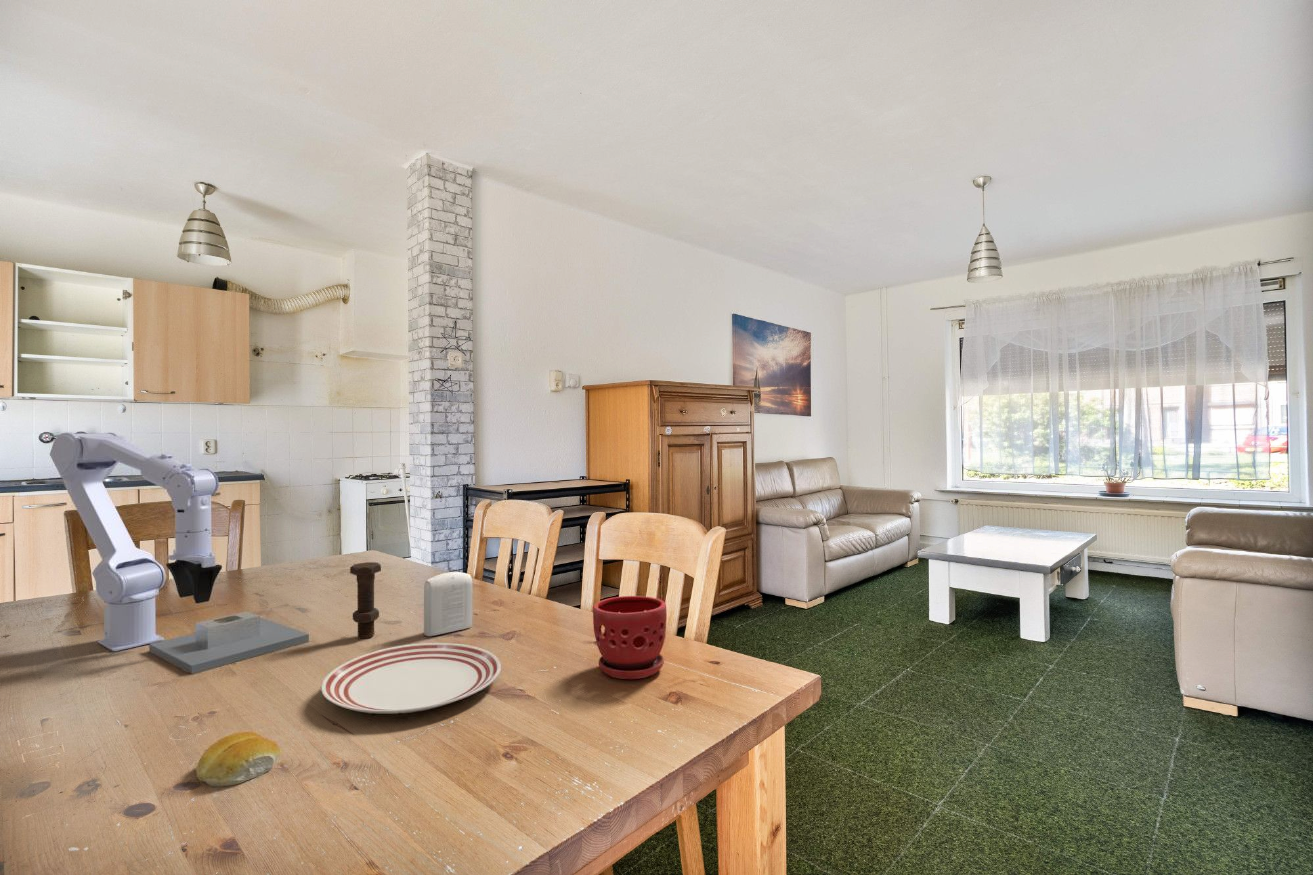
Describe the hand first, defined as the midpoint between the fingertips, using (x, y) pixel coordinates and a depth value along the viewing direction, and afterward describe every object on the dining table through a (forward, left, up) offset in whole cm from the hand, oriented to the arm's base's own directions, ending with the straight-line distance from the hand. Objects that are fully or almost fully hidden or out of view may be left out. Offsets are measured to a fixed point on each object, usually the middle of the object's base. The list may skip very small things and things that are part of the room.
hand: (194, 599), depth 121 cm
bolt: (+23, +22, -10) cm, 33 cm away
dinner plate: (+54, +12, -10) cm, 56 cm away
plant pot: (+79, +38, -10) cm, 88 cm away
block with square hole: (+6, +4, -8) cm, 11 cm away
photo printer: (+34, +34, -10) cm, 49 cm away
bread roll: (+57, -15, -10) cm, 59 cm away
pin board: (+6, +4, -9) cm, 12 cm away
